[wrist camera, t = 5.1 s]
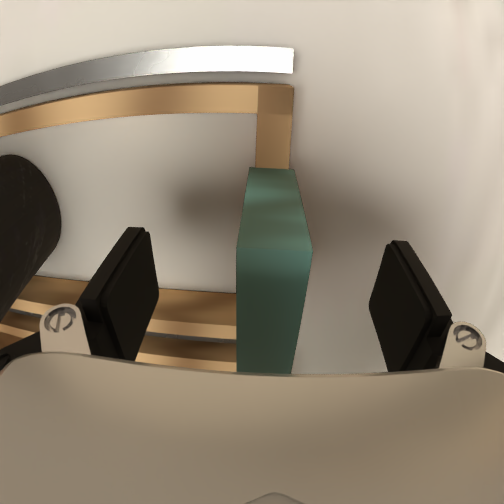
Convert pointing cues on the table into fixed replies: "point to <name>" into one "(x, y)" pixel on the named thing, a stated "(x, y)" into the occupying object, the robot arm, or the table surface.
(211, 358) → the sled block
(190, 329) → the brown low piece
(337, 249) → the table surface
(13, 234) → the travel mug
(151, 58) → the lane frame
